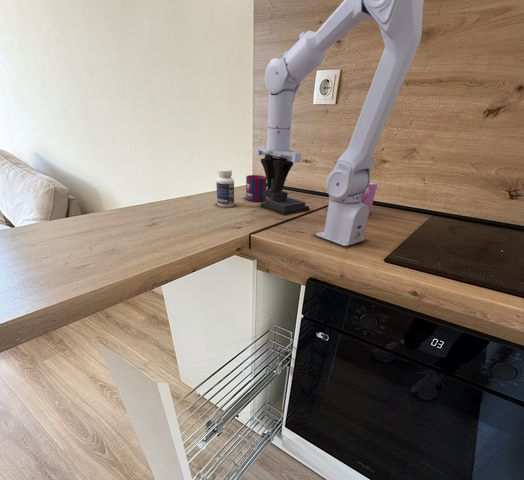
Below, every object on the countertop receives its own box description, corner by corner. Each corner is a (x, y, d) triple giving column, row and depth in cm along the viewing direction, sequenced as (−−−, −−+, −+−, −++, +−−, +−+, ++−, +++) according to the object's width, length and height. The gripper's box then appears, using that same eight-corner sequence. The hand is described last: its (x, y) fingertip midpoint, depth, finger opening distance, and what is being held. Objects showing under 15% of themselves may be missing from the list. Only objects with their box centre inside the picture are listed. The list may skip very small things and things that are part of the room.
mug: (242, 198, 104) (242, 175, 100) (265, 195, 109) (266, 173, 105) (253, 202, 100) (254, 179, 96) (276, 199, 105) (278, 177, 101)
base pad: (309, 209, 97) (310, 202, 95) (284, 214, 91) (284, 207, 89) (285, 202, 103) (285, 195, 101) (260, 206, 97) (260, 199, 96)
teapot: (336, 221, 88) (344, 181, 82) (309, 208, 98) (314, 172, 91) (382, 215, 95) (392, 179, 89) (352, 204, 105) (360, 170, 98)
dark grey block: (287, 197, 84) (288, 179, 81) (274, 199, 81) (275, 181, 78) (274, 193, 87) (276, 176, 84) (261, 195, 84) (262, 177, 81)
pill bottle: (231, 208, 94) (231, 172, 88) (215, 206, 95) (213, 170, 89) (236, 203, 98) (236, 169, 92) (220, 202, 99) (219, 167, 93)
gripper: (247, 125, 76) (247, 185, 85) (288, 130, 68) (283, 196, 77) (268, 125, 80) (265, 183, 89) (309, 130, 72) (302, 193, 80)
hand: (275, 189), depth 83 cm, fingers closed on dark grey block, 2 cm apart
